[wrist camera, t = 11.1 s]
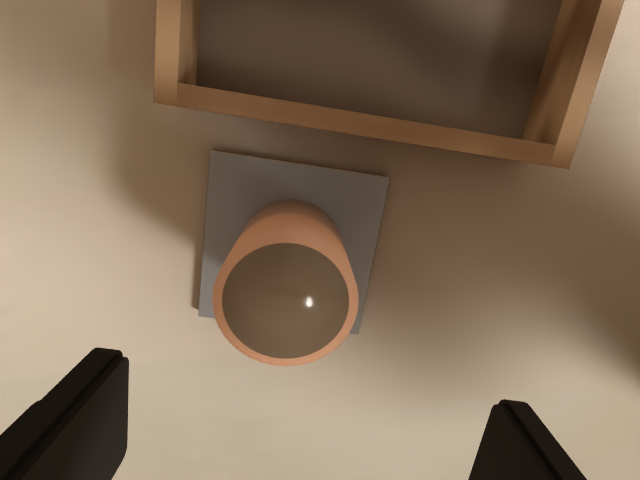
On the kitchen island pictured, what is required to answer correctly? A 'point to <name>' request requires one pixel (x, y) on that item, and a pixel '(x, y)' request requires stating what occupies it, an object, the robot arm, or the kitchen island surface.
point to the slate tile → (289, 184)
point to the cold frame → (394, 68)
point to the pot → (286, 286)
